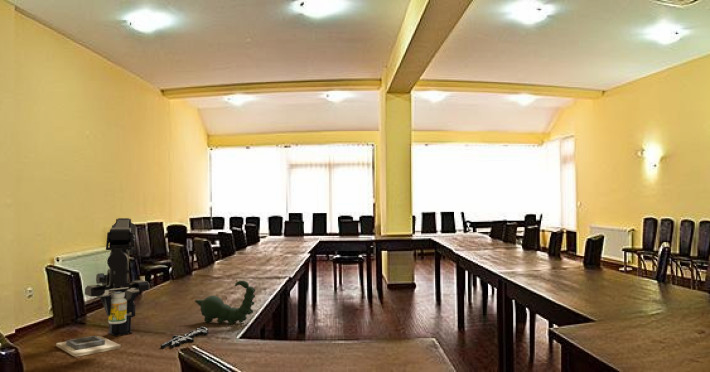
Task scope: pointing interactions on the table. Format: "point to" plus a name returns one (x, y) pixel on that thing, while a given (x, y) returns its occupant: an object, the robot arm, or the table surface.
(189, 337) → the toy rifle
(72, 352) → the collar board
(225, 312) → the toy figurine
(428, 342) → the table surface
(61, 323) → the table surface
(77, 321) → the table surface
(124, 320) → the supplement bottle
